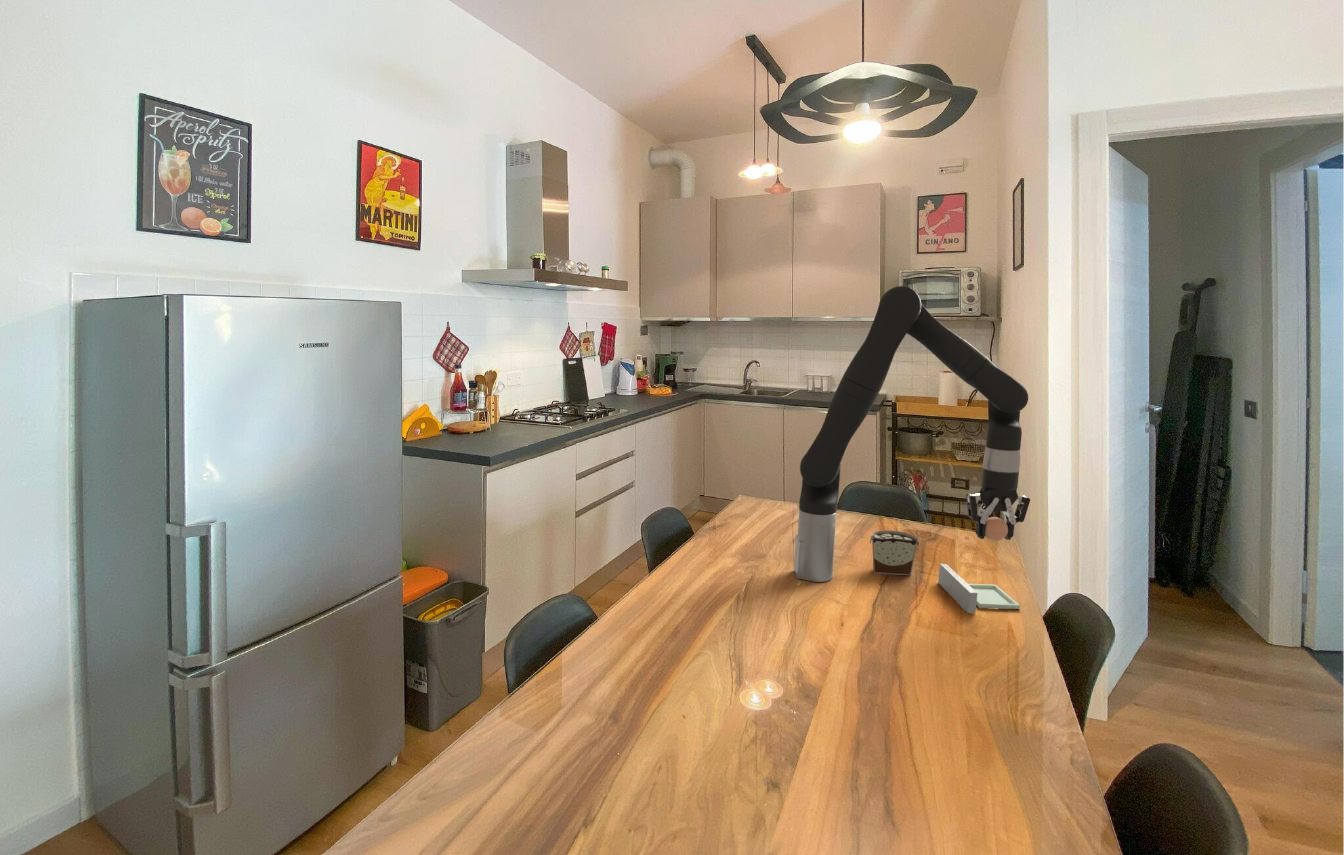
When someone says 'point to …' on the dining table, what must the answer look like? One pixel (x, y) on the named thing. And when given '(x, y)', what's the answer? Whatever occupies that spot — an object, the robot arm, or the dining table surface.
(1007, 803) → the dining table surface
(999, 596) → the sage tray
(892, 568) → the food container
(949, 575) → the low wall
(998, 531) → the ball
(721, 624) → the dining table surface
